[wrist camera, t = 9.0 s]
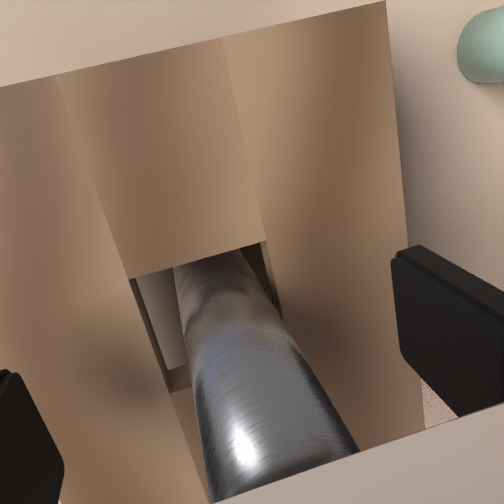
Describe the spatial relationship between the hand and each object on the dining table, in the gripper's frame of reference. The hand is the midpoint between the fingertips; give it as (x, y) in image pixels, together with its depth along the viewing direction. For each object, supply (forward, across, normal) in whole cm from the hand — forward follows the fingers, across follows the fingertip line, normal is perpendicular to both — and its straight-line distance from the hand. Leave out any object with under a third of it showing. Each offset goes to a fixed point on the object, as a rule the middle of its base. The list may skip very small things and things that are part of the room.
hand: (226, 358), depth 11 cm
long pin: (+7, 0, 0) cm, 7 cm away
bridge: (+7, 0, 0) cm, 7 cm away
